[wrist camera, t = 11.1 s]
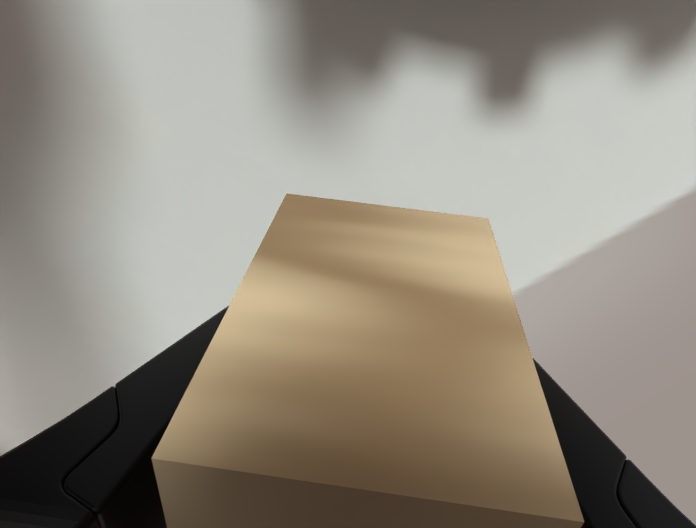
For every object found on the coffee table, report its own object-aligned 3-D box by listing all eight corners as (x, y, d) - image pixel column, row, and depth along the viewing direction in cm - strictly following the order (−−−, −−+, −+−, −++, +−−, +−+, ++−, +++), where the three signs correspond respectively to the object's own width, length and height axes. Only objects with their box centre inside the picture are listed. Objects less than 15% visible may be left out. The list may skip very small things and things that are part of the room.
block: (283, 343, 12) (191, 634, 7) (286, 193, 9) (150, 457, 4) (447, 365, 12) (479, 680, 6) (488, 218, 9) (584, 522, 4)
